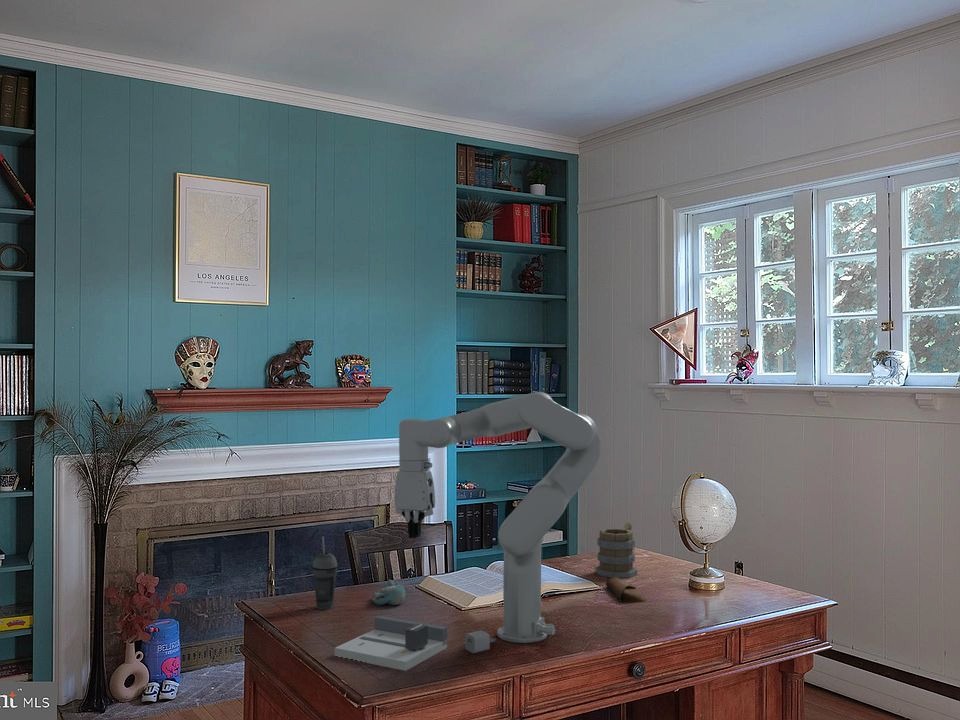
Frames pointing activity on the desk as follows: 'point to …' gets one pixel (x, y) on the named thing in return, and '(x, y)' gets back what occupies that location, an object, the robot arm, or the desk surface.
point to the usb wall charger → (478, 641)
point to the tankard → (616, 553)
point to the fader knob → (416, 636)
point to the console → (392, 644)
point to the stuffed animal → (390, 594)
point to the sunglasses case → (624, 590)
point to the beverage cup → (324, 579)
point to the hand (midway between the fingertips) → (414, 537)
